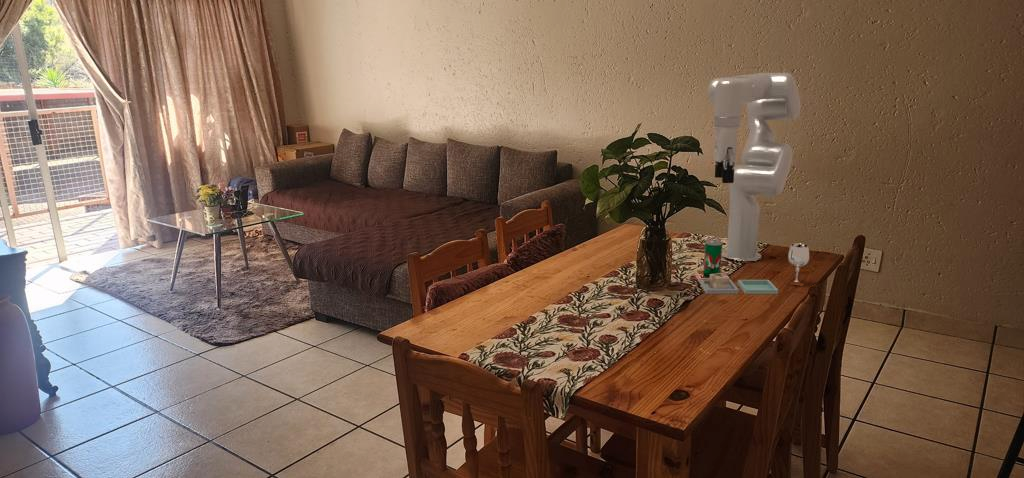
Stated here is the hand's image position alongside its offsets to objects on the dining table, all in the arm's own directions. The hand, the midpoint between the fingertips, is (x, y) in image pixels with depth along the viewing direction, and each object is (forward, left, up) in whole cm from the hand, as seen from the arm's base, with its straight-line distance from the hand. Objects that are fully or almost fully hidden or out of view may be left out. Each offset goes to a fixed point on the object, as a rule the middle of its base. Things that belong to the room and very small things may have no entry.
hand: (723, 180), depth 199 cm
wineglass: (+8, +21, -31) cm, 38 cm away
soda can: (+4, -3, -30) cm, 30 cm away
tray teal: (+14, +8, -30) cm, 34 cm away
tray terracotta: (+4, -3, -30) cm, 31 cm away
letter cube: (+14, -3, -30) cm, 33 cm away
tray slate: (+14, -3, -30) cm, 34 cm away
